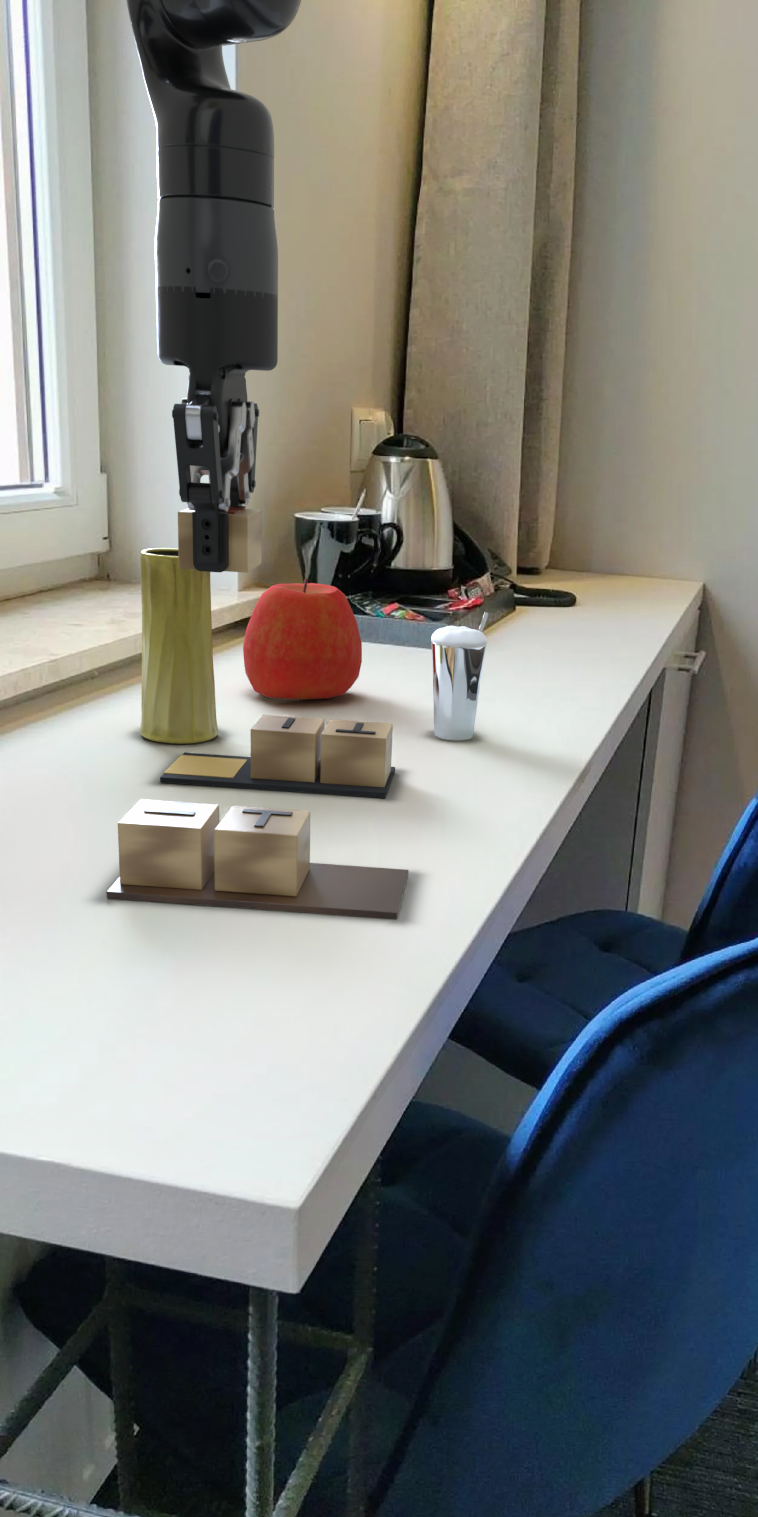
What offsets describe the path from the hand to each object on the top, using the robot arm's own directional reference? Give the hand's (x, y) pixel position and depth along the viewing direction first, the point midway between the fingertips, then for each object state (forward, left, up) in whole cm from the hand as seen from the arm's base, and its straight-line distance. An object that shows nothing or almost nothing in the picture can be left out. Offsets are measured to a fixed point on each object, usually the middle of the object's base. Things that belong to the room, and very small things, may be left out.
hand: (220, 564), depth 89 cm
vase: (-6, +13, -15) cm, 21 cm away
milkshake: (+16, +19, -15) cm, 29 cm away
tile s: (0, 0, 0) cm, 0 cm away
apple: (+1, +30, -15) cm, 33 cm away
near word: (+7, -20, -15) cm, 26 cm away
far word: (+4, +3, -15) cm, 16 cm away
